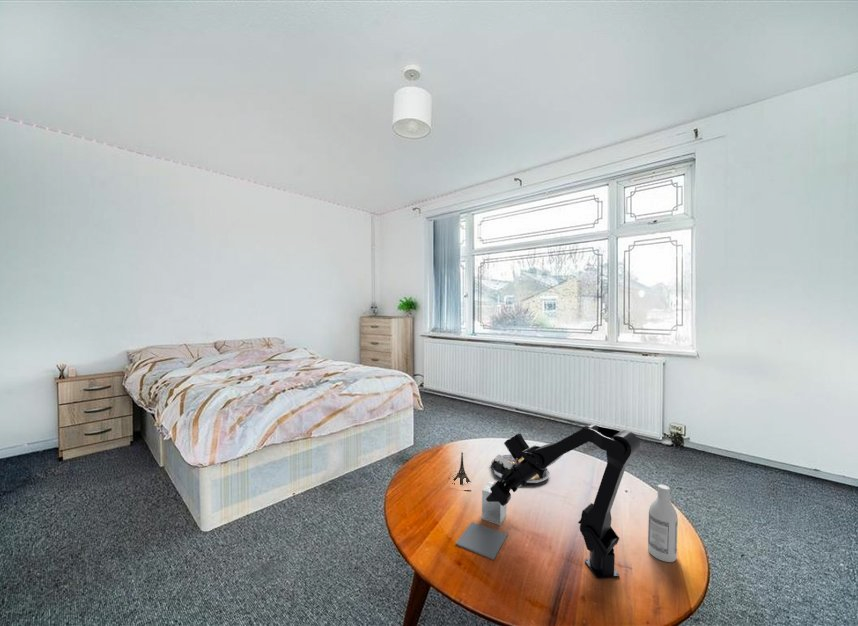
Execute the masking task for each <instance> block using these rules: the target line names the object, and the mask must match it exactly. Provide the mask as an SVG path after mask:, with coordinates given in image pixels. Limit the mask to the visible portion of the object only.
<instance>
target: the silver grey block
mask: <svg viewBox="0 0 858 626" xmlns="http://www.w3.org/2000/svg"><path fill="white" fill-rule="evenodd" d="M494 483H495V482H492V481H488V482H487V484H486V485H485V486H484V487H483V488H482V490H481V492H482V493H481V494H482V495H481V520H483V521H487V522H489V523H492V524H495V525H498V526H501V525H502V523H503V521H505V519H506V517H507V505H508V503H507V504H506V505H504V506H502V505H501V504H500V503H499V502H488V501H487V500H486V498H487V497H488V496H489V495H490V493H491V490H490V488H491V487H492V485H493V484H494Z"/></svg>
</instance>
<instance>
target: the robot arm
mask: <svg viewBox="0 0 858 626" xmlns="http://www.w3.org/2000/svg"><path fill="white" fill-rule="evenodd" d="M640 442H641V441H640V439H639V437H637V435H636V434H634V433H633V432H631V431H629V430H620V429H616V428H612V427H606V426H601V425H597V424H596V423H588V424H587V425H585V426H583V427H582V428H581V429H580V430H578V431H576V432H574V433H572V434H570V435H569V436H567V437H565V438H562V439H561V440H559V441H557V442H552V443H547V444H544V445H541V446H540V445H539V446H538V445H532V446H529V445H528V443H527V441H526V440H525V439H524V437H523V435H522V433H521V432H518V433H517V434H515V435H513V436H512V437H510V438H509V439H506V440H505V441H504V443H503V445H504V446H505V447H506V448H507V451H508V452H509V455H512V457H513V458H514V459H515V460H516V459H517V458H518V460H520V459H522V458H524V460H522V461H521V462H520V463H517V464H516V463H515V464H511V463H510V462H509V461H508V460H507V459H505V458H504V457H502V456H503V455H501V454H497V455H496V456H495V458H494V459H493V460H494V461H493V460H492V461H493V463H491V466H490V467H491V468H492V470H493V469H494V470H495V471H496V472H498V473H501V474H502V476H501V477H502V478H501V480H496V481H495V482H493V483H494V484H493V485H492V487H491V488H490V490H491V493H490V495H489V496H488V497H487V498H486V500H487V501H488V502H499V503H500V504H501V505H502V506H504V505H506V504H507V505H508V503H509V502H510V500H511V498H512V494H511V492H510V491H512V492H513V493H515V492H517V490H518V489H519V488H520V487H524V486H525V485H526V484H528V483H527V481H529V480H530V479H531V478H533V477H534V476H536V475H537V474H538V475H539V477H540V478H541V479H543V478H545V477H546V470H547V469H548V467H549V466H551V465H553V464H555V463H557V461H558V460H559V459H561V457H563V455H565V454H568V453H569V452H571V451H573V450H575V449H576V448H578V447H580V446H584V445H585V444H587V443H591V444H593V445H594V446H596V447H597V448H599V449H600V450H603V451H605V453H606V454H605V455H606V466H605V469H604V472H603V474H602V477H601V481H600V484H599V487H598V490H597V493H596V496H595V499H594V501H593V502H591V503H589V504H588V505H587V506H586V507H585V508H584V509H583V510H582V511H581V515H580V516H581V517H580V520H579V521H577V523H578V524H579V531H580V532H581V535H582V537H583V540H584V543H585V546H586V549H587V551H589V558H584V563H586V566H588V568H589V570H590V571H591V572H592V573H593V574H594V576H595V577H596V578H597V579H607V578H608V579H610V578H620V573H619V571H618V570H617V569H616V568H615V562H616V561H615V557H616V555H615V550H614V549H615V546H616V545H618V543H619V540H620V537H619V536H618V535H617V533H616V532H615V530H614V529H613V528H612V513H611V511H612V509H613V504H614V502H615V499H616V496H617V494H618V490H619V487H620V485H621V482H622V479H623V476H624V472H625V471H626V467H627V466H628V465H629V464H630V462H631V461H632V459H633V458H634V456H635V455H636V453H637V452H638V451H639V449H640V446H641V443H640ZM546 468H547V469H546ZM494 470H493V471H494Z"/></svg>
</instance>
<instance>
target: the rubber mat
mask: <svg viewBox="0 0 858 626" xmlns="http://www.w3.org/2000/svg"><path fill="white" fill-rule="evenodd" d="M507 537H508V534H507V533H505V532H501V531H499V530H497V529H493V528H490V527H488V526H486V525H485V526H484V525H482V524H479V523H476V522H473V521H471V522H470V523H469V525H468V526H467V527H466V529H465V530H464V532H463V533H462V534H461V535H460V537H459V538H458V539H457V540H456V542H455V545H456V546H458V547H461V548H463V549H464V550H465V549H466V550H468V551H471V552H472V553H475V554H478V555H480V556H482V557H486V558H487V559H490V560H493V561H494V560H495V559H496V557H497V555H498V554H499V552H500V550H501V548H502V546H503V544H504V542H505V541H506V539H507Z"/></svg>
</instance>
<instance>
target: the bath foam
mask: <svg viewBox="0 0 858 626" xmlns="http://www.w3.org/2000/svg"><path fill="white" fill-rule="evenodd" d="M670 495H671V488H670V487H669V486H668V485H665V484H663V483H662V484H661V483H660V484H658V485H657V497H656V498H655V499H654V500H653V501H652V502H651V504H650V505H649V508H648V525H647V526H648V529H647V530H648V531H647V550H648V552H649V554H651V555H652V556H653V557H654V558H656V559H657V560H660V561H663V562H664V563H673V562H675V561H676V560H677V554H678V553H677V551H678V523H679V522H678V513H677V510H676V509H675V507H674V505H673V503H672V502H671V501H670V500H671V499H670Z"/></svg>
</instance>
